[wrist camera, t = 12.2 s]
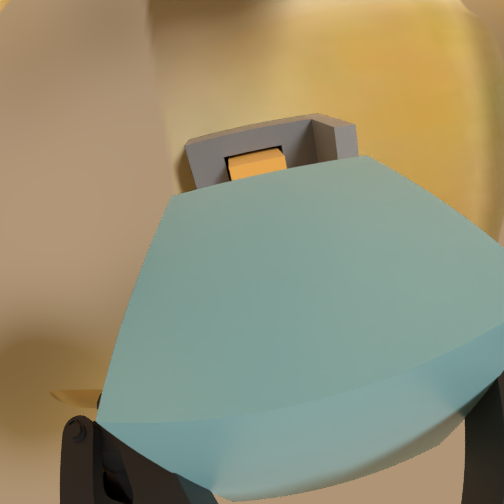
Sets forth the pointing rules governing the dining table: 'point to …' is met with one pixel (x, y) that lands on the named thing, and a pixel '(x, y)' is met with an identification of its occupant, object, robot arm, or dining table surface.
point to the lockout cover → (305, 330)
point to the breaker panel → (272, 145)
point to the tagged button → (256, 162)
